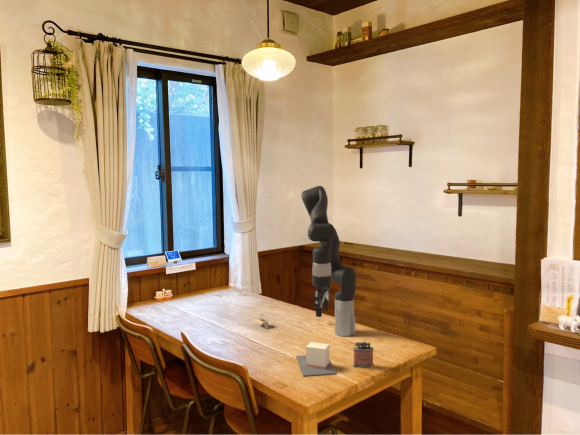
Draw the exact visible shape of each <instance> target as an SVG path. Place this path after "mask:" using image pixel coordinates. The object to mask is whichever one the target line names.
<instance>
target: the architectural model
mask: <svg viewBox="0 0 580 435" xmlns="http://www.w3.org/2000/svg"><path fill="white" fill-rule="evenodd" d="M261 316H262V317H261ZM261 316H260V317H259V318H257V319H256V321H257V322H259V324H260V323H261V325H262V327H263V328H264V329H269V314H267V313H265V312H264V311H262V313H261Z"/></svg>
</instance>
